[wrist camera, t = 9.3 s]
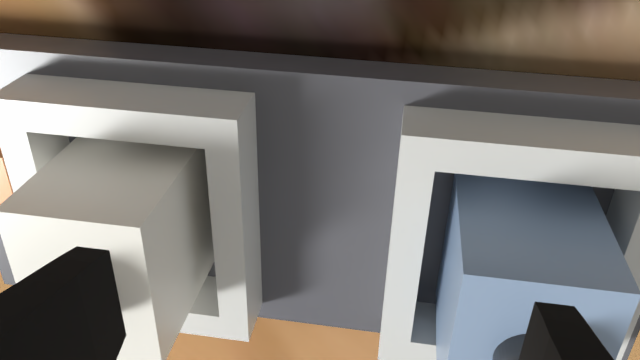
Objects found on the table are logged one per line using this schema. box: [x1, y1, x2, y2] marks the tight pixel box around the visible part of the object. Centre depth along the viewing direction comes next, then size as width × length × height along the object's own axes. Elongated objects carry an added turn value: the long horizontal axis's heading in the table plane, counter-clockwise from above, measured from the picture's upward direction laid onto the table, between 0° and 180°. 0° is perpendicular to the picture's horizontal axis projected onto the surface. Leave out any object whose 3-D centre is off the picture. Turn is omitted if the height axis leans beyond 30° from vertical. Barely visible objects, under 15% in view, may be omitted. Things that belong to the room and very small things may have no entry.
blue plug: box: [435, 173, 640, 360], centre depth 16 cm, size 5×4×7 cm
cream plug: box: [0, 137, 214, 360], centre depth 18 cm, size 5×4×7 cm
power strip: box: [0, 33, 640, 360], centre depth 20 cm, size 10×24×4 cm, turn 89°
